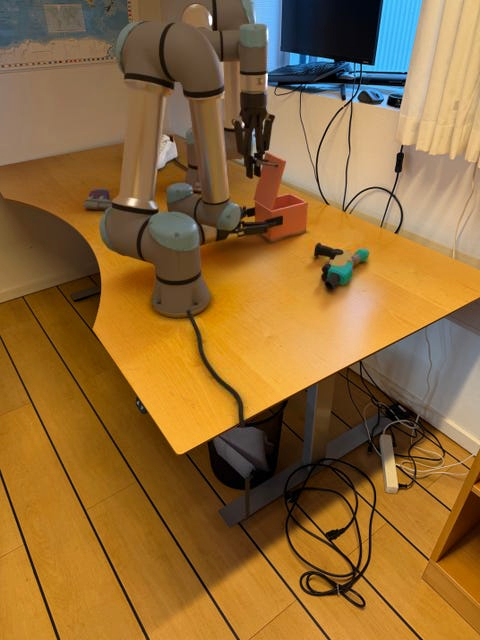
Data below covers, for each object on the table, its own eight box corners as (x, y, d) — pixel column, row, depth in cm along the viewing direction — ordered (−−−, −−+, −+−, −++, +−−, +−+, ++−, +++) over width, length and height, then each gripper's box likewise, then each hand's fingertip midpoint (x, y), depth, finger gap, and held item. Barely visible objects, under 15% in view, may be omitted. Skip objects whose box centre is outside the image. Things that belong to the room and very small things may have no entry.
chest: (288, 221, 166) (290, 192, 159) (305, 232, 159) (308, 202, 152) (254, 231, 160) (254, 201, 154) (270, 242, 153) (271, 211, 147)
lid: (268, 152, 147) (244, 148, 142) (286, 161, 140) (261, 157, 135) (256, 200, 154) (232, 197, 149) (272, 210, 147) (248, 208, 142)
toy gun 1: (141, 199, 183) (126, 215, 172) (96, 196, 186) (78, 211, 175) (140, 189, 181) (124, 205, 169) (94, 186, 184) (76, 201, 172)
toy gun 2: (291, 271, 128) (345, 285, 123) (324, 234, 147) (372, 245, 141) (290, 285, 131) (343, 299, 125) (322, 247, 150) (369, 258, 144)
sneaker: (133, 173, 208) (129, 144, 201) (161, 153, 230) (158, 127, 223) (155, 175, 205) (151, 146, 198) (180, 155, 227) (178, 129, 220)
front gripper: (196, 227, 155) (254, 213, 164) (230, 255, 139) (292, 238, 148) (195, 206, 151) (255, 192, 160) (229, 232, 135) (293, 215, 144)
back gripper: (236, 96, 123) (237, 185, 137) (284, 90, 129) (281, 175, 143) (222, 91, 128) (225, 177, 142) (269, 85, 134) (267, 168, 148)
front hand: (273, 214), depth 154 cm, fingers closed on chest, 10 cm apart
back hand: (253, 176), depth 143 cm, fingers closed on lid, 2 cm apart
